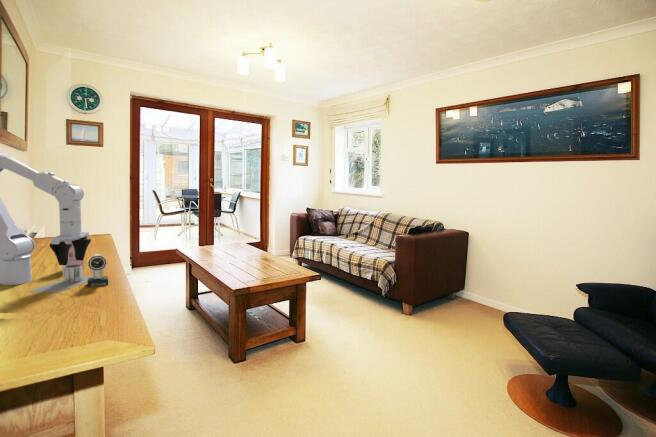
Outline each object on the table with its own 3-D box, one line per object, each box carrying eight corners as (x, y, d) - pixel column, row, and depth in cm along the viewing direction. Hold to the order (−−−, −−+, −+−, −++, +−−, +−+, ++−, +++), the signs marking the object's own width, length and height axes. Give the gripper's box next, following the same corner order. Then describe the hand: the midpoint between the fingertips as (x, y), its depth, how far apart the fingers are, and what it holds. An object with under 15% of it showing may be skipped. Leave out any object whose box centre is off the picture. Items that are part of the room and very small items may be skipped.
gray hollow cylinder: (59, 282, 117) (58, 267, 116) (70, 278, 122) (70, 264, 122) (75, 283, 117) (74, 268, 116) (86, 279, 122) (85, 264, 121)
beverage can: (62, 272, 135) (61, 232, 133) (79, 269, 139) (78, 231, 138) (69, 274, 132) (67, 234, 130) (86, 271, 136) (85, 232, 135)
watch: (87, 292, 111) (86, 257, 110) (88, 285, 118) (87, 252, 117) (108, 290, 114) (107, 256, 113) (108, 283, 121) (107, 251, 120)
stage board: (27, 295, 107) (27, 291, 106) (76, 278, 126) (75, 275, 126) (57, 296, 106) (57, 292, 106) (101, 279, 126) (101, 276, 126)
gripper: (66, 224, 110) (67, 267, 111) (97, 220, 125) (98, 258, 126) (43, 223, 110) (45, 267, 112) (77, 219, 125) (78, 257, 126)
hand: (71, 262), depth 119 cm, fingers open, 7 cm apart
